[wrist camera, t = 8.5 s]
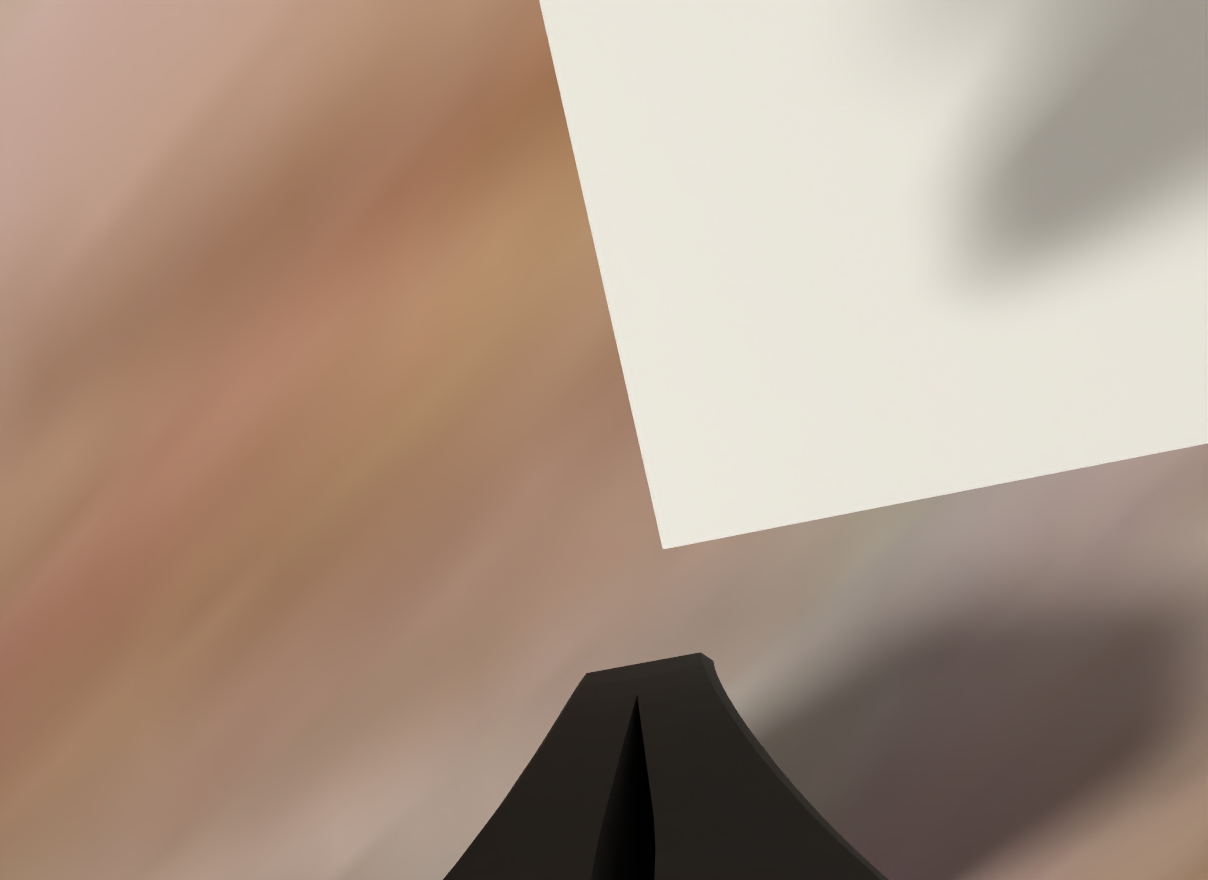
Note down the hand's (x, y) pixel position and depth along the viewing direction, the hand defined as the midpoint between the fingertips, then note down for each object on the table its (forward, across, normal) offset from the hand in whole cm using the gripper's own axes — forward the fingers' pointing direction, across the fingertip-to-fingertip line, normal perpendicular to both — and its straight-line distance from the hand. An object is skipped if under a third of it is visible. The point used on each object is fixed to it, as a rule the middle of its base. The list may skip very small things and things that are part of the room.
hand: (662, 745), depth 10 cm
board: (+9, -6, -6) cm, 13 cm away
